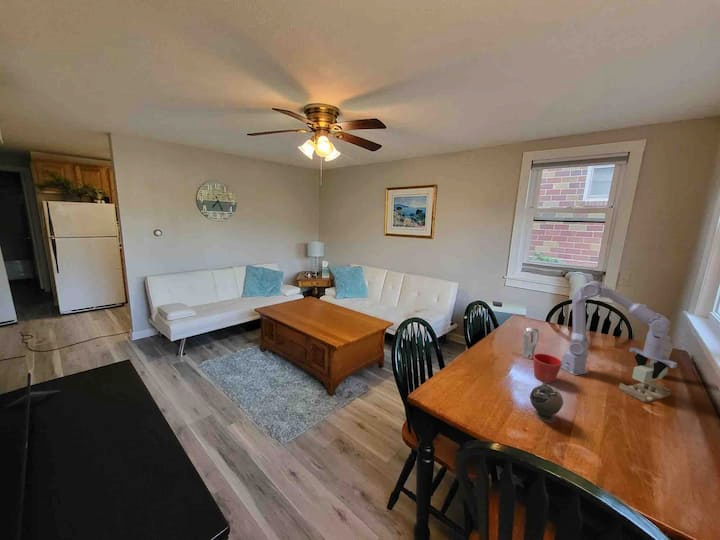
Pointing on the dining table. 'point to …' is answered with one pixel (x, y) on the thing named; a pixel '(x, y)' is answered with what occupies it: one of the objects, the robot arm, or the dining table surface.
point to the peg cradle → (645, 391)
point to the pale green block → (645, 373)
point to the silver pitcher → (529, 342)
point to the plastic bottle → (665, 352)
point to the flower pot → (546, 367)
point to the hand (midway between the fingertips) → (647, 375)
